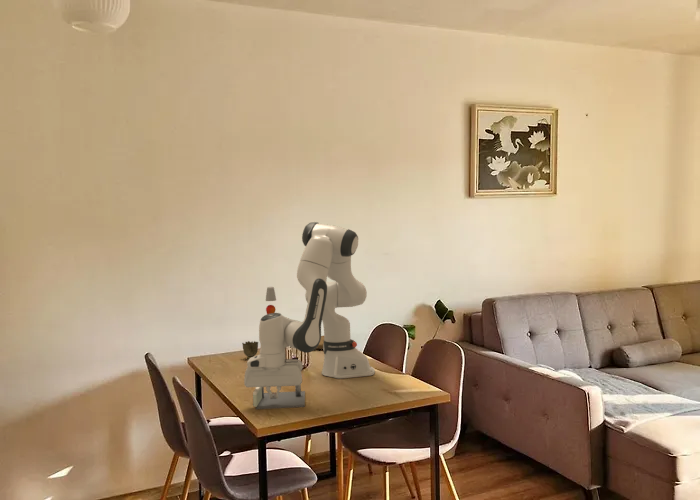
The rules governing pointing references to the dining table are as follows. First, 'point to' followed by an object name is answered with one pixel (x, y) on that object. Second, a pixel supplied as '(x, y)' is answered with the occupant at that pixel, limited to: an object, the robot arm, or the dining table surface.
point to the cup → (250, 349)
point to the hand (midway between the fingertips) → (274, 398)
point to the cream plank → (257, 396)
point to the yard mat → (282, 401)
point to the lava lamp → (270, 299)
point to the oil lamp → (321, 343)
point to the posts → (297, 391)
